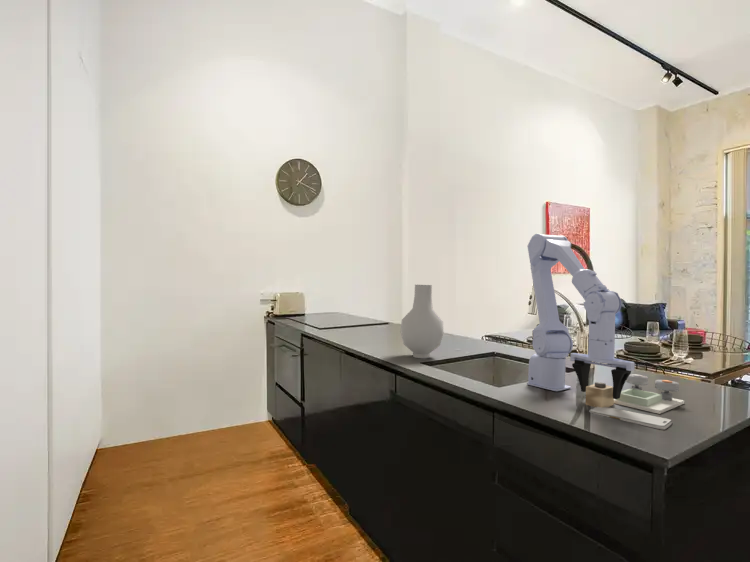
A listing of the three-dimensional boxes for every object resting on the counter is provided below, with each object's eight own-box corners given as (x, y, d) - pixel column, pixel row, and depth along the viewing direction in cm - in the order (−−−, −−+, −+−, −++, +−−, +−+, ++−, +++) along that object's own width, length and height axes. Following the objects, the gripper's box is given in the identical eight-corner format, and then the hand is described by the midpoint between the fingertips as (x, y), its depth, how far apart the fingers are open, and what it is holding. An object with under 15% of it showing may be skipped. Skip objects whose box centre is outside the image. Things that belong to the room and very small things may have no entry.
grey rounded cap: (651, 392, 108) (652, 380, 108) (659, 389, 111) (659, 377, 111) (674, 396, 104) (674, 384, 104) (681, 393, 107) (682, 381, 107)
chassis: (601, 400, 108) (602, 378, 108) (628, 391, 117) (629, 371, 117) (659, 413, 97) (660, 389, 97) (684, 403, 107) (684, 381, 107)
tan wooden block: (585, 404, 103) (586, 383, 103) (597, 401, 107) (597, 380, 107) (602, 409, 100) (602, 386, 100) (613, 405, 104) (614, 383, 104)
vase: (424, 352, 175) (426, 284, 175) (451, 358, 161) (453, 285, 161) (391, 354, 165) (393, 283, 165) (418, 362, 152) (420, 284, 152)
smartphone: (599, 405, 102) (673, 419, 91) (599, 410, 102) (673, 424, 91) (587, 410, 97) (664, 426, 86) (587, 415, 97) (664, 432, 86)
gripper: (640, 342, 100) (639, 399, 100) (580, 335, 112) (579, 386, 112) (627, 344, 96) (626, 403, 96) (566, 336, 108) (565, 389, 108)
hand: (600, 394), depth 104 cm, fingers open, 7 cm apart
